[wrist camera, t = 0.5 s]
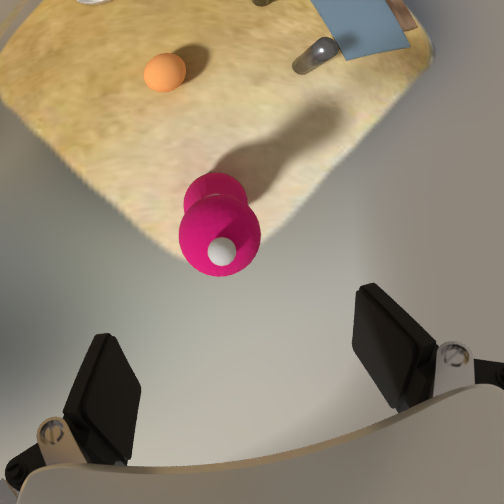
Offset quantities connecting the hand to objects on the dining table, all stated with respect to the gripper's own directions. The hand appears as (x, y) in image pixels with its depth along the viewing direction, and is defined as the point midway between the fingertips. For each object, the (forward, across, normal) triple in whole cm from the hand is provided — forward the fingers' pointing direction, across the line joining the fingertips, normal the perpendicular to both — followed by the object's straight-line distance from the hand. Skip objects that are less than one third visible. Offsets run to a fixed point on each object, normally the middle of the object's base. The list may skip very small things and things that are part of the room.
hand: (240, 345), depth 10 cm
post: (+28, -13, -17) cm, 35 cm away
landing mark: (+28, -25, -27) cm, 46 cm away
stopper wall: (+28, -32, -29) cm, 52 cm away
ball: (+25, +4, -17) cm, 31 cm away
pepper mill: (+28, 0, 0) cm, 28 cm away
